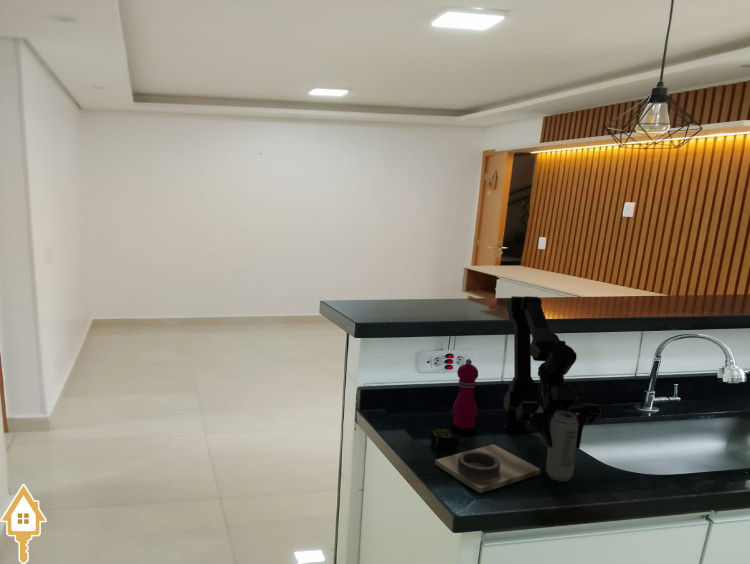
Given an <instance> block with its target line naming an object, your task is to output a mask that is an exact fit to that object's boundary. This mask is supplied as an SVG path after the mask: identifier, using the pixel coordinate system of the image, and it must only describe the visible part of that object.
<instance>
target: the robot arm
mask: <svg viewBox="0 0 750 564" xmlns="http://www.w3.org/2000/svg"><path fill="white" fill-rule="evenodd" d="M506 301H507V302H506V311H507V312H508V319H509V321H510V323H511V324H512V326H513V333H514V334H513V338H514V340H513V346H514V347H513V349H514V351H513V352H514V357H513V358H514V360H513V361H514V365H513V366H514V367H513V369H514V374H513V375H514V376H513V378H512V379H511V381H510V383H509V384H508V391H507V392H506V393H505V396H504V398H503V407H504V409H505V410H506V412H507V414H506V424H505V425H504V424H503V425H502V428H503V429H505V430H507V431H510V432H511V433H513V434H515V435H517V436H521V435H525V434H527V433H532V432H534V429H535V430H536V431H537V432H538V434H540V436H541V437H542V439H543V440H544V442H545V444H546V445H547V448H548V447H549V448H551V447H552V442H551V436H550V427H549V424H548V417H549V416H550V417H553V416H554V413H555V411H560V410H562V411H569V412H572V413H574V414H575V415H576V416H577V417H576V419H577V421H578V423H579V425H578V434H577V443H576V450H578V449H580V447H581V442H582V441H581V440H582V434H583V430H584V426H585V425H586V424H591V425H592V424H593V423H594V424H595V422H596V421H598V419H599V418H600V417H601V416H602V415H603V413H602V409H601V407H600V406H599V404H597V403H588V402H587V403H585V402H584V403H583V402H582V403H581V405H579V407H578V408H577V407H576V408H575V407H570V406H573V405H574V404H575V402H578V399H581V398H585V395H586V394H585V386H584V383H580V382H579V383H577V382H576V383H573V384H572V386H570V385H568V383H566V382H565V375H567V374H568V373H569V371H570V369H571V368H572V366H574V364H575V362H576V361H577V358H578V357H577V353H576V352H575V349H573V348H572V347H571V346H569V345H567V344H566V341H565V340H560V338H559V337H558V335H557V334H555V333H554V332H553V331H551V329H550V326H549V323H548V321H547V318H546V315H545V313H544V309H543V306H542V298H541V297H538V296H526V295H525V296H515V295H513V296H511V297H510V298H509V299H507V300H506ZM531 338H532V339H531ZM532 359H533V361H535V362H542V363H541V364H540V365H539V367H538V368H537V369H538V370H537V376H538V377H539V381H540V388H541V391H540V393H539V391H538V384H537V382H536V381H534V379H533V377H532V365H531V363H532V361H531V360H532ZM541 398H542V400H543V405H541V406H540V405H539V403H540V399H541ZM574 401H575V402H574ZM530 425H532V426H533V427H534V429H533V428H531V427H530Z"/></svg>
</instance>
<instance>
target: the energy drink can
mask: <svg viewBox="0 0 750 564" xmlns="http://www.w3.org/2000/svg"><path fill="white" fill-rule="evenodd" d="M576 417H577V416H576V415H575V414H574V413H572V412H569V411H562V410H560V411H555V413H554V416H551V418H550V425H549V426H550V427H549V432H550V436H551V442H552V447H551V448H549V447H548V446H547V456H546V457H547V458H546V467H545V471H546V473H547V476H548V477H549V478H551V479H552V480H555V481H559V482H567V481H569V480H571V478H572V477H573V476H574V469H575V468H574V467H575V461H576V450H577V448H576V443H577V434H578V425H579V423H578V421H577V419H576Z"/></svg>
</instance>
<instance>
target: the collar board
mask: <svg viewBox="0 0 750 564" xmlns="http://www.w3.org/2000/svg"><path fill="white" fill-rule="evenodd" d="M434 462H435V463H434V465H436V466H437V467H438V468H440V469H441V470H442V471H445V472H446V473H448V474H450V475H451V476H453V478H455V479H457V480H458V481H460V482H462V483H463V484H464V485H466V486H468V488H469V487H470V488H471V489H472V490H474V491H475V492H477V493H479V494H483V493H485V492H489V491H492V490H495V489H498V488H501V487H504V486H507V485H510V484H513V483H517V482H519V481H522V480H526V479H529V478H532V477H534V476H538V475H541V468H539V467H537V466H536V465H533V464H532V463H529V462H528V461H526V460H524V459H521V458H520V457H519V456H517V455H514V454H512V453H511V452H509V451H508V450H505V449H503V448H501V447H499V446H497V445H495V444H493V443H492V444H489V445H486V446H481V447H478V448H474V449H470V450H467V451H464V452H460V453H456V454H453V455H452V454H451V455H449V456H445V457H441V458H438V459H435V461H434Z"/></svg>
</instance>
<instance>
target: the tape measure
mask: <svg viewBox="0 0 750 564" xmlns="http://www.w3.org/2000/svg"><path fill="white" fill-rule="evenodd" d="M430 442H431V444H432V445H433V446H434V447H436V448H437V449H438V448H439V449H442V450H443V449H444V450H449V449H453V448H457V447H460V443H461V440H460V438H459V437H458V436H457V435H456V434H455V433H454V432H452V431H451V430H450V429H449V428H444V429H442V428H438V429H434V430H432V433H431V435H430Z"/></svg>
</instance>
